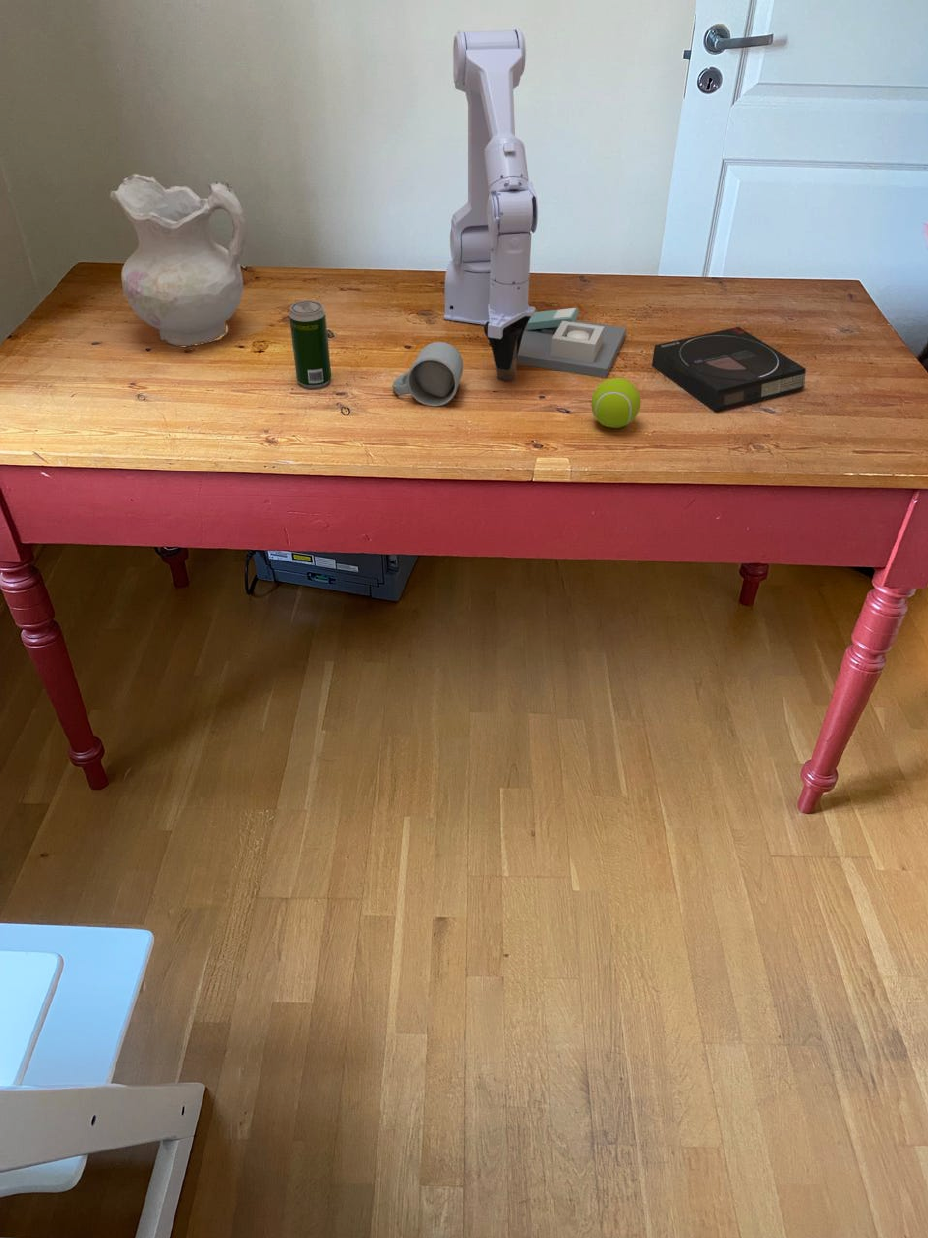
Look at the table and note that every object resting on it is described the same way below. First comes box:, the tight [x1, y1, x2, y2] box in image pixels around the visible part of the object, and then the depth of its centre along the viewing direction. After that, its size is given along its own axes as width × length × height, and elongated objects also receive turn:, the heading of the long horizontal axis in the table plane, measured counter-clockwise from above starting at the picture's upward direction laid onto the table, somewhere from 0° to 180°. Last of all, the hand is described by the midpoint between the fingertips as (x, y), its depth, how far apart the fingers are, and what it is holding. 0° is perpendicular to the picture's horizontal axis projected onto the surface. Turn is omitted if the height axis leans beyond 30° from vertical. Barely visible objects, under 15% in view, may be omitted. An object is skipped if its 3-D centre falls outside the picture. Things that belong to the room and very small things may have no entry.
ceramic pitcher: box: [109, 173, 247, 347], centre depth 152 cm, size 22×20×25 cm
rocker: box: [526, 307, 579, 330], centre depth 157 cm, size 8×4×1 cm, turn 72°
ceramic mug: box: [391, 341, 464, 407], centre depth 141 cm, size 11×8×8 cm
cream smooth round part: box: [567, 330, 589, 340], centre depth 151 cm, size 4×4×2 cm
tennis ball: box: [590, 377, 642, 429], centre depth 135 cm, size 7×7×7 cm
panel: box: [516, 319, 627, 379], centre depth 154 cm, size 18×16×4 cm
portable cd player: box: [651, 326, 807, 413], centre depth 147 cm, size 16×17×4 cm
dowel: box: [495, 342, 517, 383], centre depth 145 cm, size 3×3×7 cm
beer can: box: [288, 300, 332, 390], centre depth 142 cm, size 5×5×12 cm
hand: (506, 363), depth 146 cm, fingers closed on dowel, 3 cm apart
